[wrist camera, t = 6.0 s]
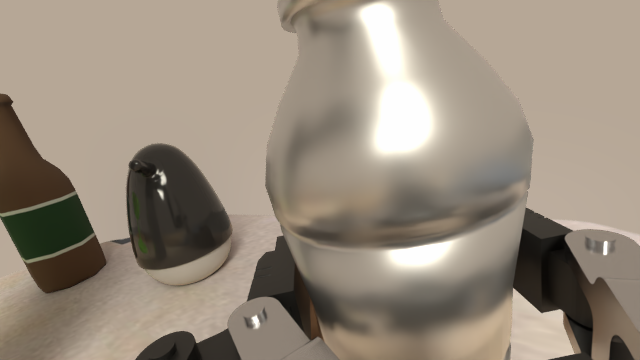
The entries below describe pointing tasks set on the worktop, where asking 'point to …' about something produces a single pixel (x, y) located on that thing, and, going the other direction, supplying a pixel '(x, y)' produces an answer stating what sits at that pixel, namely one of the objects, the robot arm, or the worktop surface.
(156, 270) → the black egg-shaped dispenser
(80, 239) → the beer bottle
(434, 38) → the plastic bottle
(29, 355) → the worktop surface
